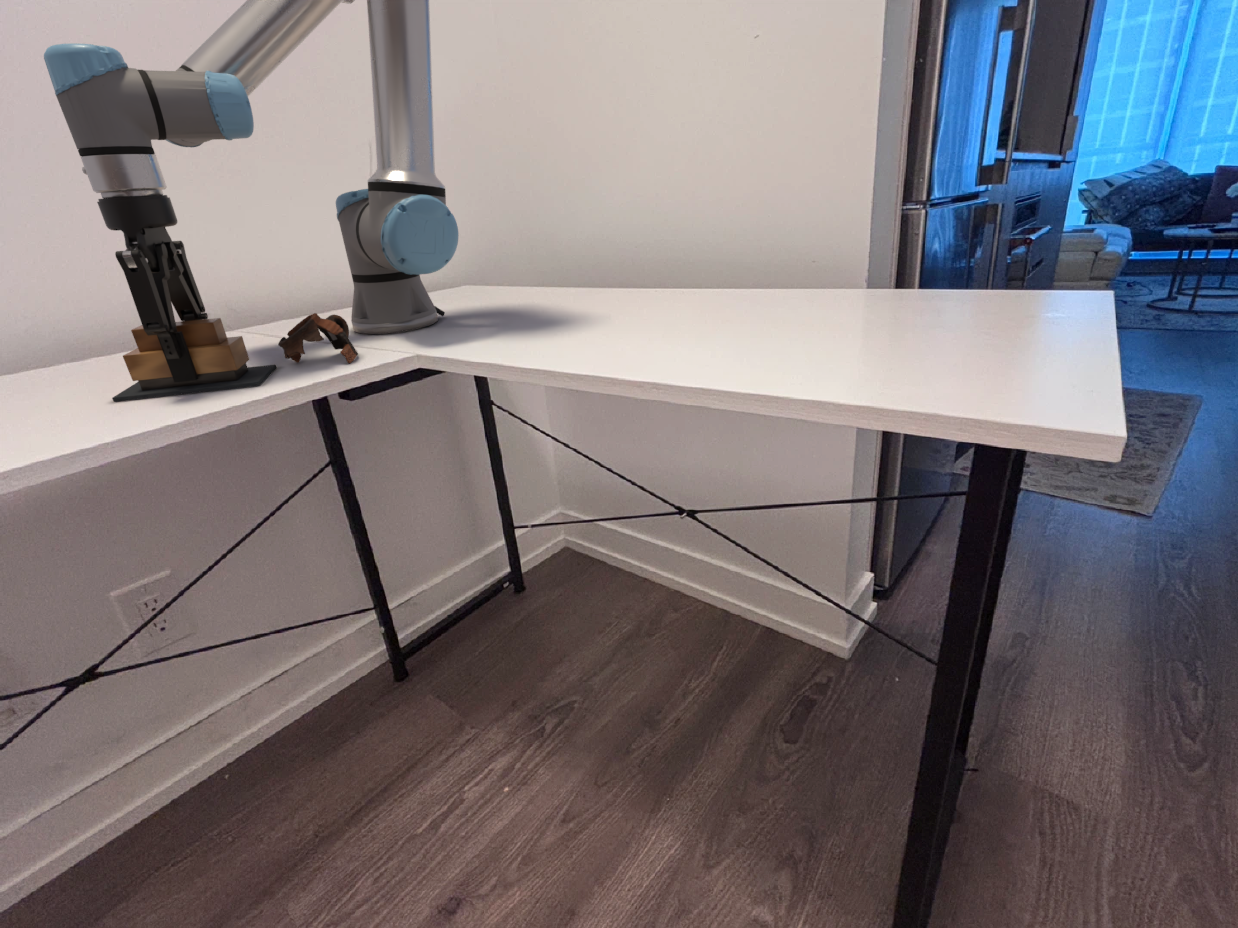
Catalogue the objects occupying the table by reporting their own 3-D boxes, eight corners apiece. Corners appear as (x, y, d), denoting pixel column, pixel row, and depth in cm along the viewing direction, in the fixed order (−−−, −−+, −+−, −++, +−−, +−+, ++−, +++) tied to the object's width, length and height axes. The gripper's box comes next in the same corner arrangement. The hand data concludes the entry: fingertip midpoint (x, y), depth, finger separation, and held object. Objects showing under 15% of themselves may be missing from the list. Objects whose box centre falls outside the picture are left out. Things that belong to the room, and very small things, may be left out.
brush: (136, 391, 84) (113, 333, 81) (155, 380, 89) (133, 324, 85) (240, 380, 86) (221, 323, 83) (252, 369, 91) (235, 314, 88)
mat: (277, 368, 93) (276, 364, 93) (259, 386, 85) (258, 381, 85) (145, 382, 90) (143, 378, 90) (113, 402, 82) (111, 397, 82)
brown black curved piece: (348, 372, 91) (304, 327, 87) (305, 398, 94) (261, 356, 90) (377, 332, 100) (338, 290, 96) (337, 357, 104) (298, 317, 99)
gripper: (135, 194, 85) (193, 358, 95) (52, 198, 68) (134, 398, 78) (195, 191, 86) (246, 353, 96) (128, 194, 69) (199, 391, 79)
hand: (196, 373), depth 87 cm, fingers open, 6 cm apart
